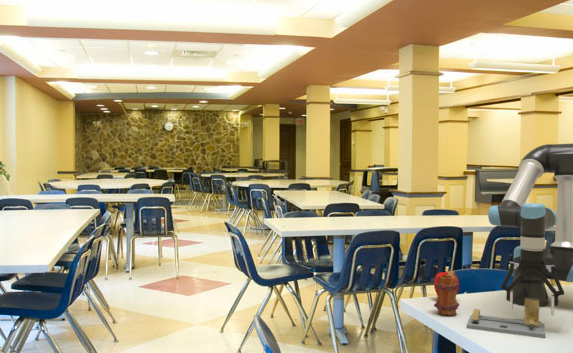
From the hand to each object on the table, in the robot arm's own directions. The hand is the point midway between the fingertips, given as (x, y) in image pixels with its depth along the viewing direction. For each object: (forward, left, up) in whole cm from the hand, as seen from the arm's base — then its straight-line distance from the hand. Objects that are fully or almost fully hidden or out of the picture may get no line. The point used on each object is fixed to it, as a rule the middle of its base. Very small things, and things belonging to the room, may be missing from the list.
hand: (531, 312), depth 179 cm
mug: (+20, -22, -6) cm, 30 cm away
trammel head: (+1, +2, -4) cm, 5 cm away
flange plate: (+8, -2, -5) cm, 10 cm away
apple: (+14, -39, -6) cm, 42 cm away
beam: (+8, -1, -4) cm, 10 cm away
